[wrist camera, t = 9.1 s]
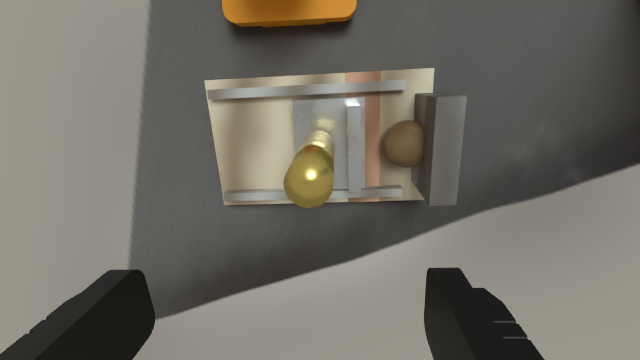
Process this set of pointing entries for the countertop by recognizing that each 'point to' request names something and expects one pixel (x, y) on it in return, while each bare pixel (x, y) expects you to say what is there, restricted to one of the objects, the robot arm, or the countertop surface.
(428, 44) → the countertop surface
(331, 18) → the bracket
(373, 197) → the board
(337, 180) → the handle
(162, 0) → the countertop surface
